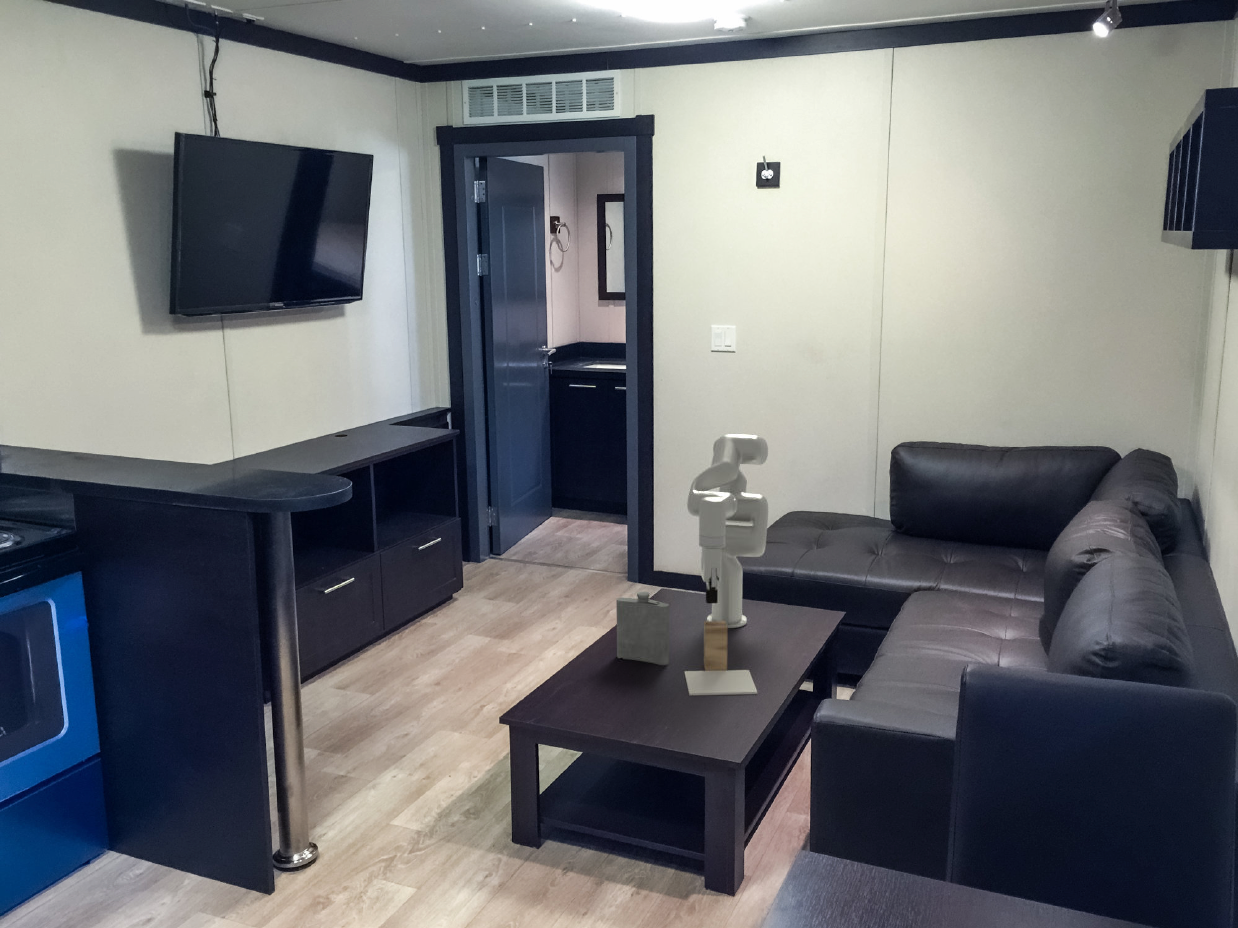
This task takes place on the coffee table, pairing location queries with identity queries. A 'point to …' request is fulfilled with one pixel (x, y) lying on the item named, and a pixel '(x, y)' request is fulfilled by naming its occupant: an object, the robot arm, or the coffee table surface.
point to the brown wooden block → (715, 645)
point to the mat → (720, 682)
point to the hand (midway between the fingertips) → (711, 602)
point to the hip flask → (643, 629)
